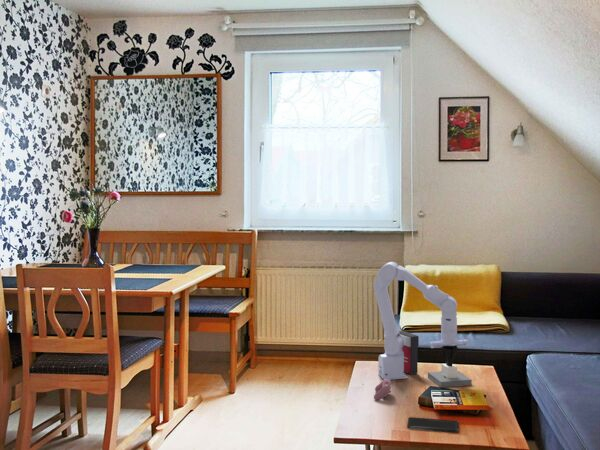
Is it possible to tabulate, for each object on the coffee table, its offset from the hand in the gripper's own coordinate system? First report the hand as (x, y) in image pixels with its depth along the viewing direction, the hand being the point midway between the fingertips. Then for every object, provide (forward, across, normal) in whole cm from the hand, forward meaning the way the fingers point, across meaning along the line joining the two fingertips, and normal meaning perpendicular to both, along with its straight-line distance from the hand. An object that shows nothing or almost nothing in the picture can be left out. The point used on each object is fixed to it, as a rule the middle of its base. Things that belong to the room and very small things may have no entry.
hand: (449, 365), depth 217 cm
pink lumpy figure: (+6, -29, -10) cm, 32 cm away
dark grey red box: (+6, -11, +16) cm, 20 cm away
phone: (+6, -23, -39) cm, 46 cm away
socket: (+6, 0, 0) cm, 6 cm away
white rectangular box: (+6, 0, 0) cm, 6 cm away
